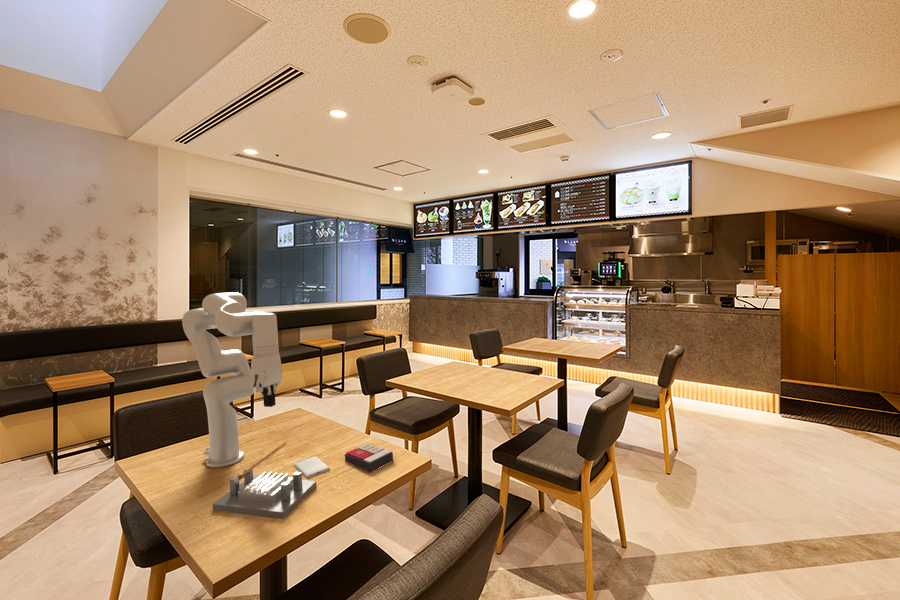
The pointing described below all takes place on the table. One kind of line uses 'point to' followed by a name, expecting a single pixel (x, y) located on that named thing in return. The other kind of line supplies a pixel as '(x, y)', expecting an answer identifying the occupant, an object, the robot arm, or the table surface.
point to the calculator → (369, 457)
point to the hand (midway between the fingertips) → (269, 405)
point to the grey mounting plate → (264, 508)
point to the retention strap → (259, 462)
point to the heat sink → (266, 487)
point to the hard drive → (311, 466)
